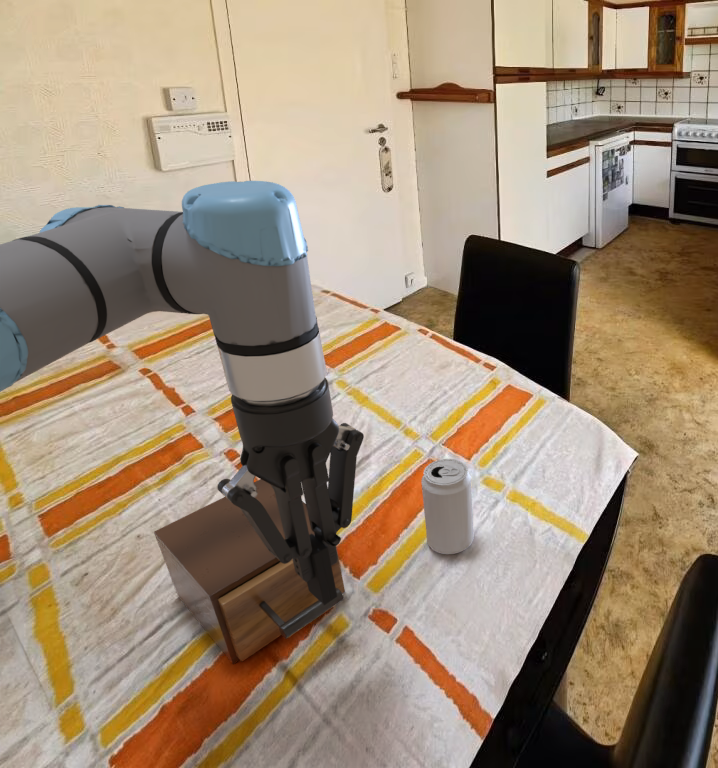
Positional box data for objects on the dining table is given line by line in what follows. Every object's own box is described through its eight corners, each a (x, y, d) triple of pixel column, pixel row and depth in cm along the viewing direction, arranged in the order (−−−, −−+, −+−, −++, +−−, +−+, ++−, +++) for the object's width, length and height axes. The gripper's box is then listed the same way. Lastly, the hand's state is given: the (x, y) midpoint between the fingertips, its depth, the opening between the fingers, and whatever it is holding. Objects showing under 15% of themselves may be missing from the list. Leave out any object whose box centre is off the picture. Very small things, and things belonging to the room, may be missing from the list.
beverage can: (431, 525, 88) (424, 456, 83) (476, 526, 88) (472, 456, 82) (424, 558, 83) (416, 485, 77) (472, 558, 83) (468, 486, 77)
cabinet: (344, 589, 78) (332, 524, 73) (233, 664, 69) (209, 596, 64) (284, 536, 87) (269, 474, 82) (178, 596, 78) (153, 531, 72)
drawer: (374, 617, 73) (364, 561, 69) (268, 694, 65) (250, 636, 60) (288, 540, 85) (275, 489, 81) (188, 598, 76) (168, 544, 72)
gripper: (323, 345, 57) (355, 541, 68) (177, 398, 48) (241, 612, 59) (373, 370, 52) (399, 576, 63) (222, 434, 44) (282, 658, 55)
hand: (323, 593), depth 61 cm, fingers closed
